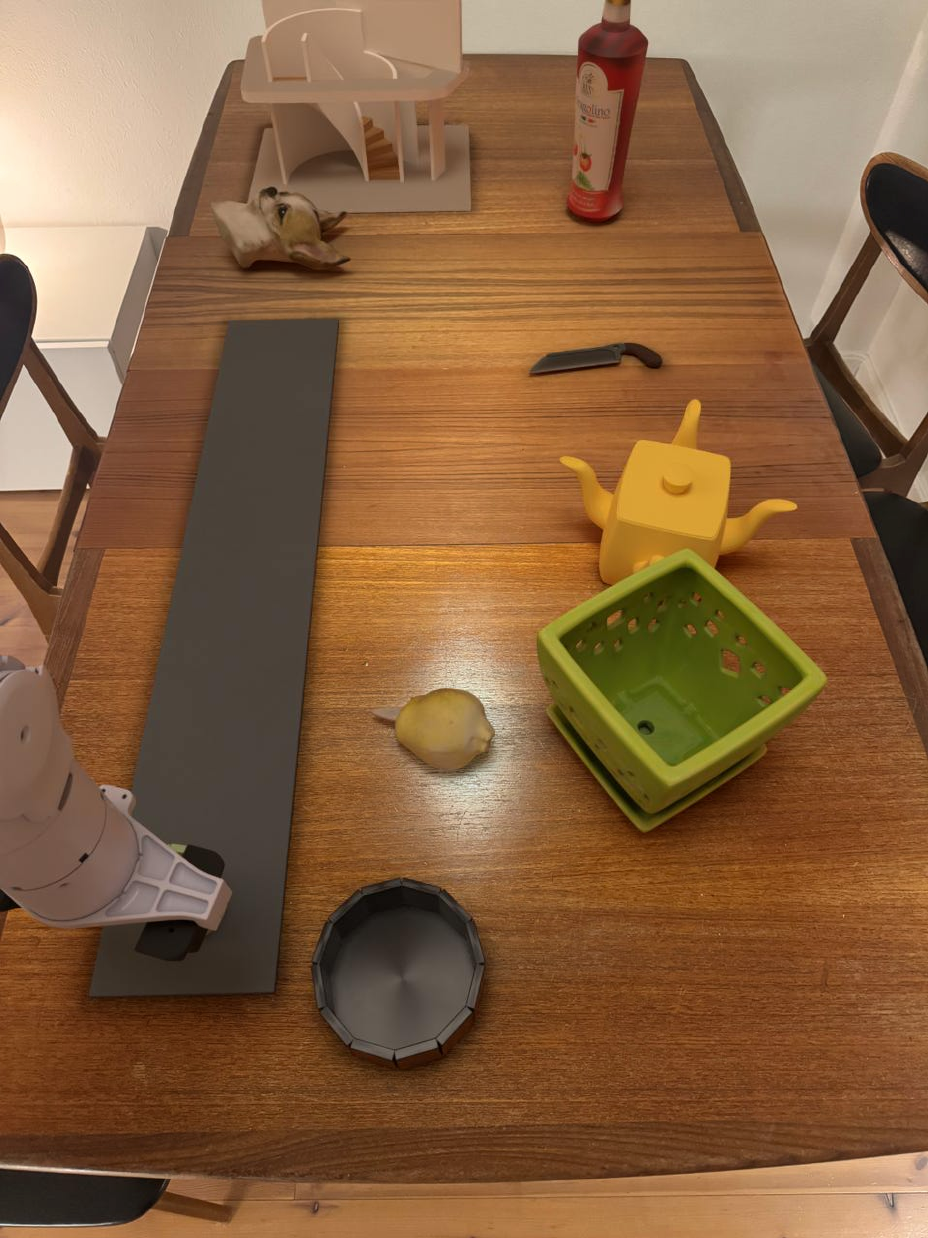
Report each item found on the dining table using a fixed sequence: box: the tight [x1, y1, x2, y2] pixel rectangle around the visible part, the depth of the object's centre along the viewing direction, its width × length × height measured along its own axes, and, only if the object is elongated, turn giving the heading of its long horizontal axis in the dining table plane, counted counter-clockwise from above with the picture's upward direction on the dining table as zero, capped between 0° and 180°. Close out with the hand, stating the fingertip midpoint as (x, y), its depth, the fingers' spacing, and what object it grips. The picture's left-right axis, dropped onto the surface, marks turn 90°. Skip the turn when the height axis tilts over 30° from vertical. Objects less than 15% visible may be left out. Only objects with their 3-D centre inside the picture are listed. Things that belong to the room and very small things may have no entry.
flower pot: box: [536, 548, 828, 834], centre depth 61 cm, size 14×14×13 cm
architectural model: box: [239, 0, 472, 214], centre depth 104 cm, size 28×21×23 cm
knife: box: [528, 342, 663, 375], centre depth 91 cm, size 14×4×1 cm, turn 100°
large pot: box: [310, 877, 486, 1071], centre depth 55 cm, size 10×10×4 cm
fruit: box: [372, 687, 496, 771], centre depth 65 cm, size 6×6×10 cm
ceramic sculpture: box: [210, 187, 351, 271], centre depth 99 cm, size 11×9×15 cm
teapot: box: [559, 399, 798, 603], centre depth 73 cm, size 15×14×10 cm
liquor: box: [565, 0, 649, 223], centre depth 96 cm, size 7×7×28 cm
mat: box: [88, 318, 340, 999], centre depth 76 cm, size 69×12×1 cm, turn 1°
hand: (138, 915), depth 50 cm, fingers open, 7 cm apart
